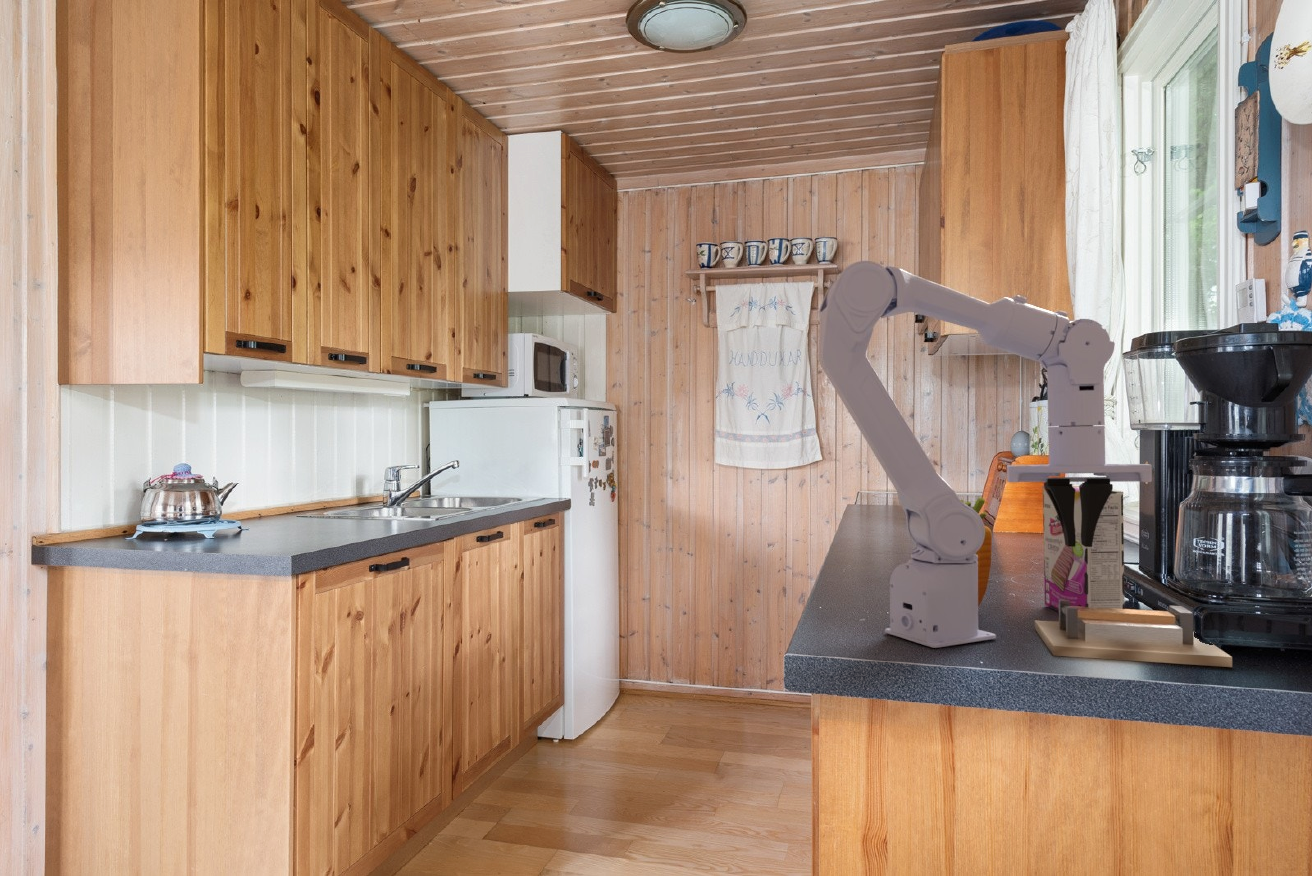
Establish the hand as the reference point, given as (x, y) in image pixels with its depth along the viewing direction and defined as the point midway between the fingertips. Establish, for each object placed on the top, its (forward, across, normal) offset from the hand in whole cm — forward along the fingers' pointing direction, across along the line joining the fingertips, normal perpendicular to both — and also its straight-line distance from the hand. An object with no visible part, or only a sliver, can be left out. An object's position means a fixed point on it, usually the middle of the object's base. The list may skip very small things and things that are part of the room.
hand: (1078, 545), depth 90 cm
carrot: (+10, +10, -11) cm, 18 cm away
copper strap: (+7, -3, +3) cm, 9 cm away
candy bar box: (+11, -2, -12) cm, 16 cm away
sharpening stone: (+10, -4, +3) cm, 11 cm away
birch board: (+10, -4, +3) cm, 11 cm away
